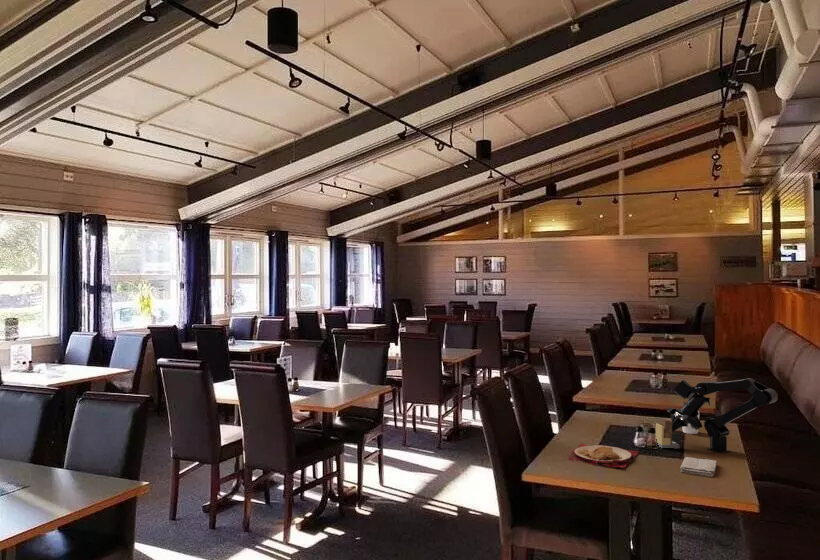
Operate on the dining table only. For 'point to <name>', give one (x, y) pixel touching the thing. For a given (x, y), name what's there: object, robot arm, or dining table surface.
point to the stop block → (667, 428)
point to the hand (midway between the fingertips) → (669, 431)
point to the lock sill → (664, 441)
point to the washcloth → (698, 466)
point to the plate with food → (603, 455)
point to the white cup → (690, 429)
